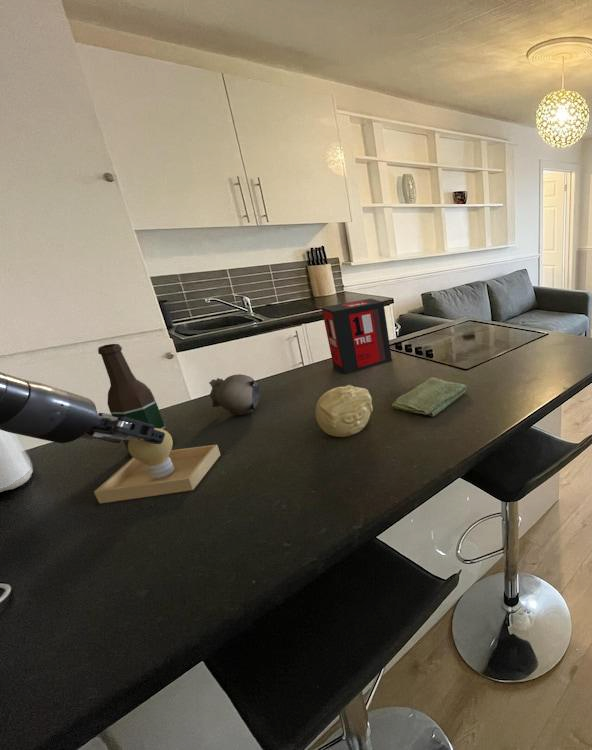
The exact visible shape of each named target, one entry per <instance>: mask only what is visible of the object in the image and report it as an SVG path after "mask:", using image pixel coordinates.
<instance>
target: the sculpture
mask: <svg viewBox="0 0 592 750" xmlns="http://www.w3.org/2000/svg"><path fill="white" fill-rule="evenodd" d="M372 401H373V400H372V396H371V395H370V391H369V390H368V389H367V388H364V387H358V386H353V385H352V384H346V385H345V386H337V387H334V388H332V389H329V390H327V391H326V392H324V393H323V394H322V395H320V397H319V399H318V401H317V403H316V406H315V418H316V421H317V424H318V426H319V427H320V429H321V430H322V431H323V433H325V434H327V435H329V436H332V437H336V438H346V437H351V436H353V435H355V434H358V433H359V432H361V431H362V430H364V429H365V427H366V426H367V424H368V422H369V421H370V417H371V414H372V412H373V410H374V409H373V404H372V403H373V402H372Z"/></svg>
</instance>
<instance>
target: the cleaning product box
mask: <svg viewBox="0 0 592 750" xmlns="http://www.w3.org/2000/svg"><path fill="white" fill-rule="evenodd" d="M321 313H322V315H323V316H322V317H323V322H324V327H325V332H326V337H327V342H328V346H329V351H330V356H331V360H332V365H333V368H334V369H336V370H338V371H339V372H340V373H342V374H344V375H347V374H350V373H353V372H356V371H357V372H358V371H360V370H363V369H367V368H371V367H374V366H378V365H381V364H384V363H388V362H391V361H393V359H392V352H391V344H390V337H389V332H388V331H389V330H388V324H387V317H386V311H385V304H384V301H381V300H378V299H375V298H366V299H360V300H356V301H355V300H354V301H349V302H344V303H338V304H332V305H327V306H321Z"/></svg>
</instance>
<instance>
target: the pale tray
mask: <svg viewBox="0 0 592 750" xmlns="http://www.w3.org/2000/svg"><path fill="white" fill-rule="evenodd" d="M221 456H222V454H221V452H220V449H219V446H218V444H210V445H202V446H195V447H187V448H179V449H171V451H170V453H169V455H168V457H170V459H171V462H172V464H173V466H174V471H173V472H172V474H171V475H169V476H167V477H165V478H162V479H153V478H151V477H150V473H149V472H148V469H147V467H146V465H147V464H146V463H143V462H141V461H139V460H137V459H135V458H134V457H131V458H130V459H129V460H128V461H127V462H125V464H123V465H122V466H121V467H120V468H119V469H118V470H117V471H115V472H114V473H113V474H112V475H111V476H110V477H109V478H107V480H106V481H104V482H103V483H102V484H101V485H100V486H98V488H96V489H95V490H94V491H93V493H94V496H95V497H96V499H97V502H98V503H99V504H107V503H113V502H121V501H128V500H134V499H141V498H149V497H154V496H161V495H162V496H163V495H168V494H175V493H176V494H177V493H182V492H183V493H184V492H189V491H190V492H191V491H194V490H195V488H196V487H197V486H198V485H199V483H201V481H202V480H203V478H204V477H205V476H206V474H207V473H208V472H209V471H210V469H211V468H212V467H213V466H214V464H215V463H216V462H217V460H218V459H219V457H221Z"/></svg>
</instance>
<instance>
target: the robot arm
mask: <svg viewBox="0 0 592 750" xmlns="http://www.w3.org/2000/svg"><path fill="white" fill-rule="evenodd" d="M154 428H155V426H154V425H153V424H148V423H144V422H141V421H137V420H134V419H131V418H127V417H125V416H119V417H113V416H112V415H111V413H105V412H98V410H97V406H96V404H95V402H94V401H93V400H92V399H90V398H89V397H84V396H82V395H79V394H76V393H73V392H70V391H66V390H63V389H60V388H57V387H54V386H52V385H48V384H46V383H41V382H38V381H34V380H27V379H24V378H21V377H17V376H14V375H11V374H8V373H5V372H2V371H0V431H4V432H6V433H10V434H15V435H20V436H25V437H29V438H34V439H38V440H43V441H47V442H52V443H57V444H68V443H71V442H74V441H76V440H78V439H85V440H96V439H97V440H101V441H104V442H110V443H113V444H120V443H121V442H122V441H123V440H125V439H126V438H130V439H136V440H139V441H141V440H142V441H146V442H150V443H153V444H161V443H162V442H163V439H164V436H165V433H164V432H161V431H157V430H154Z"/></svg>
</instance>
